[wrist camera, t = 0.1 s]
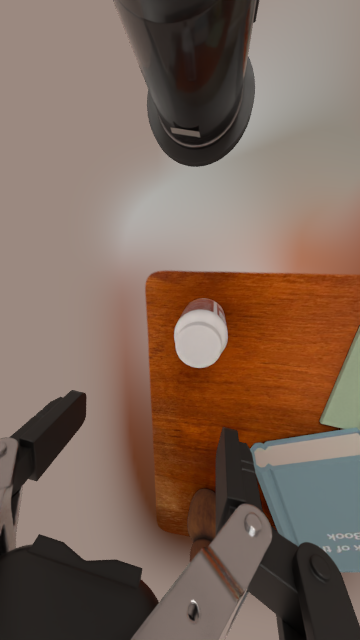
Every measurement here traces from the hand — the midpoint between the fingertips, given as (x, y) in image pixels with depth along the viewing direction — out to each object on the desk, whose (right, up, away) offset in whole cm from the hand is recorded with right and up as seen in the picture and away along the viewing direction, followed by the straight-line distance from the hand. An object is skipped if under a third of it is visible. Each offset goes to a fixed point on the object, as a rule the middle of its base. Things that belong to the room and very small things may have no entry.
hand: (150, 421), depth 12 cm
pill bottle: (+5, +6, +20) cm, 21 cm away
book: (+25, -23, +25) cm, 42 cm away
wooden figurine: (+7, -28, +29) cm, 41 cm away
